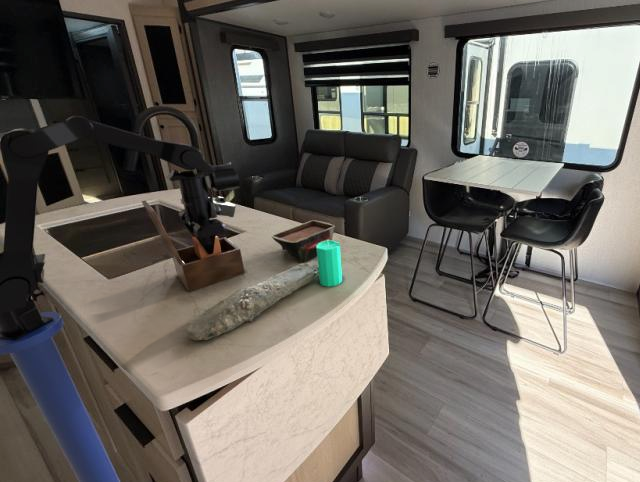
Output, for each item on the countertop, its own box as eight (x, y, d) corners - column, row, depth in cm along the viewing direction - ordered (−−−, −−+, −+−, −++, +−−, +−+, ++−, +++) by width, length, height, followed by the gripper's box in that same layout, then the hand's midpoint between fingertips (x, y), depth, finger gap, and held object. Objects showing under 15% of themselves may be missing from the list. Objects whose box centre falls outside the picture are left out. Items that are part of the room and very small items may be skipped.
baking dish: (273, 257, 101) (265, 231, 96) (318, 233, 113) (313, 208, 108) (299, 275, 93) (292, 247, 88) (345, 247, 105) (341, 221, 100)
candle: (331, 289, 81) (327, 246, 77) (314, 282, 84) (310, 240, 80) (347, 278, 86) (344, 237, 81) (330, 272, 88) (327, 233, 84)
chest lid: (145, 200, 78) (141, 201, 77) (154, 210, 70) (150, 212, 70) (171, 249, 85) (168, 250, 84) (183, 263, 77) (179, 265, 77)
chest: (229, 259, 96) (225, 236, 94) (244, 272, 89) (240, 248, 86) (177, 275, 87) (170, 251, 85) (188, 291, 79) (181, 266, 77)
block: (201, 260, 83) (197, 242, 81) (195, 254, 86) (191, 237, 84) (221, 254, 86) (218, 237, 84) (215, 248, 89) (212, 232, 88)
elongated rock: (333, 277, 88) (307, 270, 93) (331, 260, 87) (305, 253, 92) (205, 351, 59) (178, 335, 64) (199, 327, 58) (172, 312, 63)
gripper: (242, 196, 80) (252, 252, 85) (217, 183, 92) (227, 233, 97) (191, 205, 72) (205, 266, 77) (171, 190, 84) (185, 243, 90)
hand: (207, 250), depth 86 cm, fingers closed on block, 5 cm apart
